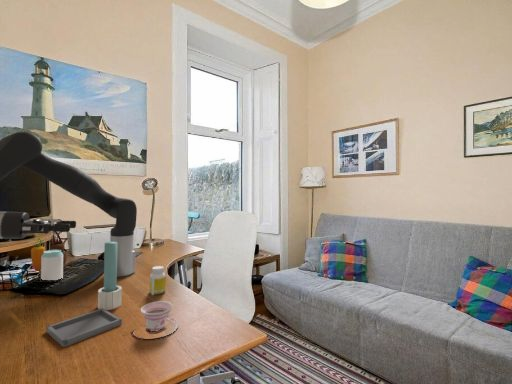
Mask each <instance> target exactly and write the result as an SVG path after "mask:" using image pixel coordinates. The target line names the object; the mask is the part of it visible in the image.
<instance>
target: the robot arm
mask: <svg viewBox="0 0 512 384" xmlns="http://www.w3.org/2000/svg"><path fill="white" fill-rule="evenodd" d="M19 167H23V168H24V169H27V170H28V171H31V172H33V173H35V174H37V175H39V176H41V177H42V178H44V179H46V180H47V181H49V182H51V183H52V184H54V185H56V186H58V187H60V188H61V189H63V190H64V191H66V192H68V193H69V194H72V195H74V196H75V197H77V198H79V199H82V200H83V201H85V202H87V203H89V204H91V205H94V206H96V207H97V208H98V209H100V210H102V212H104V213H105V214H107V215H108V216H109V217H111V218H113V219H115V225H114V227H112V228H111V229H110V237H109V238H110V241H109V242H117V278H119V277H120V278H121V277H127V276H129V275H132V274H133V273H136V251H135V250H134V239H135V238H134V232H135V229H136V226H137V215H138V214H137V211H138V210H137V208H138V207H137V205H136V203H135V201H134V200H133V199H130V198H123V197H118V196H115V195H113V194H111V193H109V192H108V191H106V190H105V189H104V188H103V187H102V186H101V185H100V183H98V181H97V180H96V179H95V178H94V177H92V176H91V175H89V174H88V173H86V172H85V171H83V170H81V169H80V168H79V167H75V166H74V165H73V166H72V165H71V164H68V163H65V162H63V161H58V160H56V159H55V158H54V159H53V158H51V157H49V156H48V155H46V154H44V153H43V143H42V140H41V139H40V138H39V137H38V136H37V135H36V134H34V133H33V132H32V133H31V132H28V131H19V132H18V131H17V132H14V133H11V134H9V135H6V136H5V137H3V138H1V139H0V181H2V180H3V179H5V177H7V176H8V175H9V174H11V173H12V172H14V171H15V170H16V169H18V168H19ZM75 228H77V221H75V220H62V219H60V218H58V219H57V218H56V219H55V218H41V217H40V218H39V217H38V218H37V217H36V218H33V219H32V220H31V219H30V215H29V213H28V212H25V211H0V239H5V240H6V239H9V240H10V239H13V240H14V239H15V240H16V239H17V240H19V239H24V238H26V237H27V235H28V234H46V235H47V234H49V233H50V234H51V233H69V232H70V231H71V229H75Z"/></svg>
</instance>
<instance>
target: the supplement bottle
mask: <svg viewBox="0 0 512 384" xmlns="http://www.w3.org/2000/svg"><path fill="white" fill-rule="evenodd" d="M164 270H165V267H164V266H162V265H161V266H160V265H155V266H153V267H152V268H151V273H150V275H149V294H150V295H151V296H160V295H163V294H165V293H166V278H167V277H166V273H165V272H164Z"/></svg>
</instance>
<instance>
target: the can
mask: <svg viewBox="0 0 512 384" xmlns="http://www.w3.org/2000/svg"><path fill="white" fill-rule="evenodd" d="M40 272H41V273H40V280H41V279H42V280H58V279H61V278H62V279H63V278H64V277H63V276H64V267H63V253H62V252H61V250H51V249H49V250H46V251H44V254H43V255H42V256H41V270H40ZM62 279H61V280H62Z"/></svg>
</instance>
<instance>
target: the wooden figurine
mask: <svg viewBox="0 0 512 384" xmlns="http://www.w3.org/2000/svg"><path fill="white" fill-rule="evenodd" d="M50 250H61V252H62V253H63V268H64V267H65V266H66V263H67V259H68V254H67V252H66V251H65V244H64V242H63V239H61V238H59V237H58V236H57V237H56V238H55V236H54V235H53V236H52V245H51V249H50Z"/></svg>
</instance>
